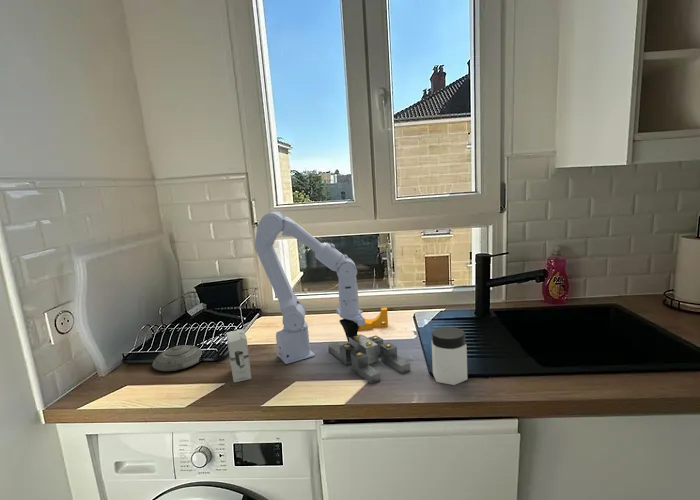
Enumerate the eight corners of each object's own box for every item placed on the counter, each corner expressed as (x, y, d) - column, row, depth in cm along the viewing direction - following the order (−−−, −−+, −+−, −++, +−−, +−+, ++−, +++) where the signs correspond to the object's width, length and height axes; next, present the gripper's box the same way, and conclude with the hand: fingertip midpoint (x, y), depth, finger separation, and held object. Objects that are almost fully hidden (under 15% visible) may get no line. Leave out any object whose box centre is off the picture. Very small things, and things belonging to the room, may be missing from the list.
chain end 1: (346, 365, 118) (345, 348, 117) (328, 351, 128) (327, 336, 127) (384, 353, 123) (383, 338, 123) (363, 341, 134) (362, 326, 133)
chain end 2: (370, 383, 106) (369, 365, 105) (351, 369, 115) (350, 352, 114) (410, 370, 112) (409, 352, 111) (389, 357, 121) (388, 341, 120)
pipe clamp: (353, 331, 143) (352, 313, 142) (353, 326, 148) (352, 309, 147) (388, 329, 143) (387, 311, 142) (387, 324, 147) (386, 307, 146)
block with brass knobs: (367, 364, 117) (365, 346, 116) (350, 352, 126) (348, 335, 125) (379, 361, 119) (377, 342, 118) (361, 349, 128) (360, 332, 127)
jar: (427, 381, 106) (425, 336, 103) (437, 367, 112) (436, 325, 110) (463, 387, 101) (461, 341, 99) (471, 373, 108) (470, 329, 106)
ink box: (230, 370, 120) (225, 331, 118) (247, 366, 122) (243, 328, 120) (233, 383, 112) (228, 342, 110) (252, 379, 114) (246, 338, 112)
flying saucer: (207, 350, 137) (205, 334, 136) (202, 370, 122) (199, 352, 121) (159, 357, 134) (156, 341, 133) (147, 378, 119) (144, 360, 118)
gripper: (372, 301, 120) (375, 346, 123) (348, 291, 133) (352, 331, 135) (351, 306, 117) (354, 352, 119) (329, 295, 130) (332, 337, 132)
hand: (352, 341), depth 127 cm, fingers closed
